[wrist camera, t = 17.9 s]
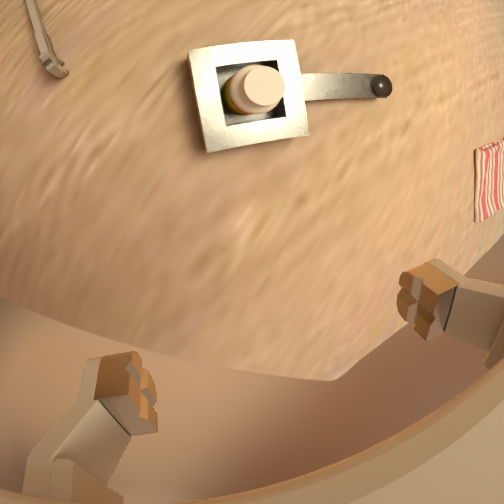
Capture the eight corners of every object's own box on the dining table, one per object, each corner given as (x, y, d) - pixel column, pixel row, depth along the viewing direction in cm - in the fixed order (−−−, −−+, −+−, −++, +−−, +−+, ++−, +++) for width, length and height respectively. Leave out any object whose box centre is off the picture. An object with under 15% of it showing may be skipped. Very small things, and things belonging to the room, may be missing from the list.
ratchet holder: (203, 149, 35) (207, 153, 31) (186, 59, 29) (188, 50, 25) (382, 125, 39) (401, 127, 35) (372, 50, 33) (391, 46, 29)
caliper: (70, 74, 26) (52, 66, 21) (64, 79, 26) (44, 72, 21) (30, -18, 17) (13, -33, 11) (24, -14, 17) (6, -27, 11)
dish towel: (513, 194, 55) (523, 198, 52) (471, 221, 53) (482, 226, 50) (513, 133, 47) (523, 135, 44) (470, 148, 45) (482, 151, 42)
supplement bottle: (211, 89, 31) (224, 77, 23) (248, 66, 31) (272, 49, 22) (236, 123, 34) (257, 124, 25) (271, 101, 34) (302, 95, 25)
